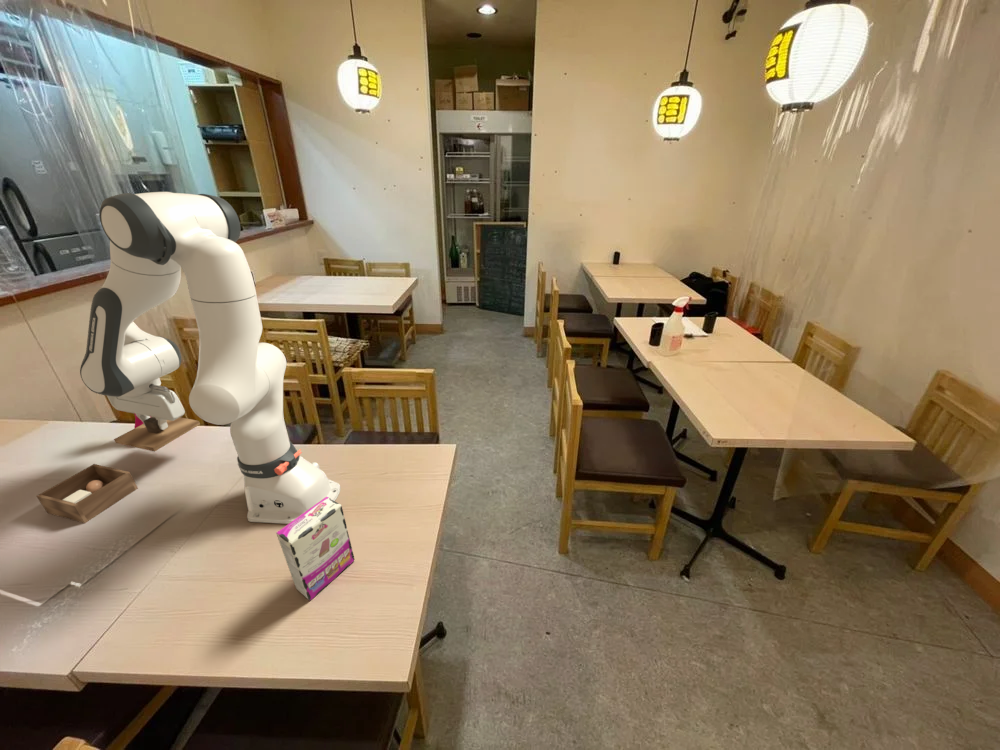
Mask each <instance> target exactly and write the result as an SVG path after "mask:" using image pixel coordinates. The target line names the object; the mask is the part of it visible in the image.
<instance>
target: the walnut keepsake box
mask: <svg viewBox="0 0 1000 750" xmlns="http://www.w3.org/2000/svg"><path fill="white" fill-rule="evenodd" d="M93 480H100V481H102V482H103V484H104V487H102V488H100V489H99V490H97V491H95V492H94V493H92V494H90V495H89V496H87V497H86V498H84V499H82V500H81V501H79V502H77V503H76V504H75V503H71V502H67V501H64V500H63V499H65V498H66V497H68V496H70V495H71V494H73V493H75V492H76V491H78V490H84V491H87V490H86V485H87V484H88V483H89V482H91V481H93ZM138 489H139V487H138V485H137V483H136V481H135V480H134V478H133V476H132V474H131V471H126V470H123V469H118V468H115V467H110V466H104V465H100V464H96V463H93V464H92V465H90V466H88V467H86V468H84V469H82V470H81V471H79V472H77V473H76V474H73V475H71V476H70V477H68V478H66V479H64V480H62V481H61V482H59V483H57V484H55V485H54V486H51V487H50V488H48V489H47V490H44V491H43V492H41V493H39V494H37V495H36V498H37V499H38V501H39V502H40V504H41V505H42V507H43V508H44V510H45V512H47V514H50V515H54V516H58V517H61V518H64V519H67V520H72V521H75V522H79V523H83V524H86V523H88V522H89V521H91V520H92V519H94V518H96V517H97V516H98V515H100V514H102V513H103V512H104V511H106V510H108V509H109V508H111V507H112V506H114V505H116V504H117V503H118V502H120V501H121V500H123V499H125V498H126V497H128V496H129V495H130V494H132V493H133V492H135V491H136V490H138Z"/></svg>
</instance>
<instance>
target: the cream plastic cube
mask: <svg viewBox="0 0 1000 750" xmlns="http://www.w3.org/2000/svg"><path fill="white" fill-rule="evenodd" d="M90 494H92V493H91V492H88V491H84V490H78V491H76V492H75V493H73V494H71V495H70V496H68V497H66V498H65V499H63V500H64V501H67V502H71V503H75V504H76V503H77V502H79V501H81V500H82V499H84V498H86V497H87V496H89V495H90Z"/></svg>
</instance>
